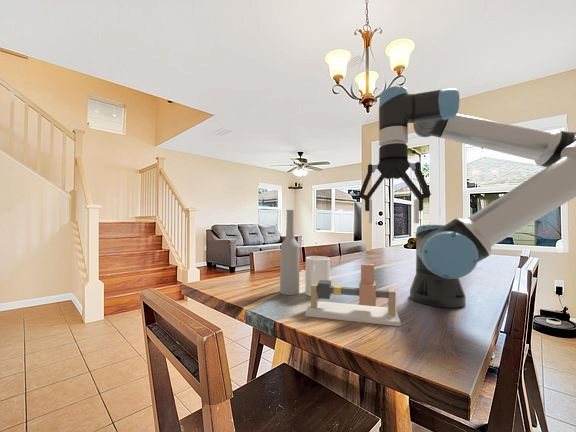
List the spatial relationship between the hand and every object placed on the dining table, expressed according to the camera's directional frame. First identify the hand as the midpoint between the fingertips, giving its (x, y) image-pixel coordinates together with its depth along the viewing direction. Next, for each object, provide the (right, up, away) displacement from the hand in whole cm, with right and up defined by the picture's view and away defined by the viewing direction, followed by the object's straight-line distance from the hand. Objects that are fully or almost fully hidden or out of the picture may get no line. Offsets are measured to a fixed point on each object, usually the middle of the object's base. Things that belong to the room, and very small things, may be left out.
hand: (393, 223), depth 76 cm
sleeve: (-9, -21, -5) cm, 23 cm away
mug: (-20, -24, +13) cm, 34 cm away
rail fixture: (-13, -24, -4) cm, 27 cm away
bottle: (-29, -24, +15) cm, 41 cm away
